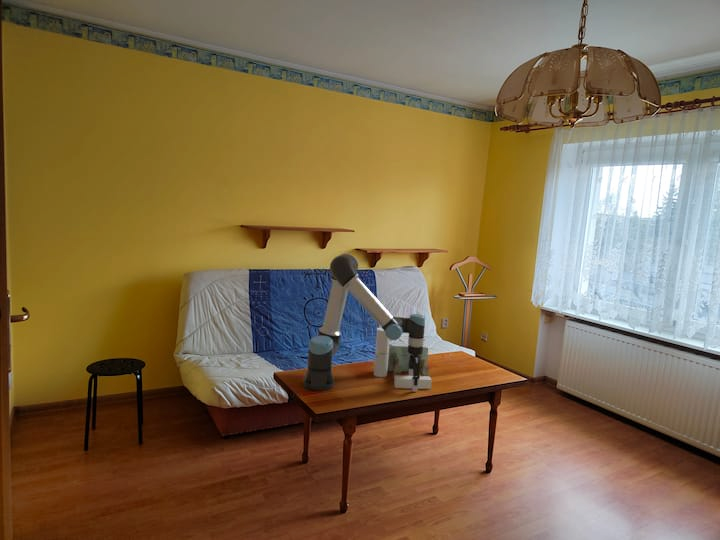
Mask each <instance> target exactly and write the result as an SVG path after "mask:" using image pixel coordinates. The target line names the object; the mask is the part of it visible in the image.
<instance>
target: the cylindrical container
mask: <svg viewBox="0 0 720 540" xmlns="http://www.w3.org/2000/svg"><path fill="white" fill-rule="evenodd" d="M375 336H376V337H375V348H374V349H375V350H374V351H375V352H374V365H373V366H374V367H373V376H374V377H376V378H377V377H378V378H385V377H387V376H388V371H387V369H388V355H389V346H390V339H389V338H388V337H387V336H386V332H385V331H384V330H383V329H382V327H377V328H376V335H375Z"/></svg>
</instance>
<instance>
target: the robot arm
mask: <svg viewBox="0 0 720 540" xmlns="http://www.w3.org/2000/svg"><path fill="white" fill-rule="evenodd" d="M358 269H359V262H358V260H357V258H356V257H355V256H353V255H352V254H349V253H342V254H340V255H338V256H335V257H334V258H333V259H332V260H331V262H330V265H329V271H330V274H331V275H330V279H331V281H332V284H331V289H330V293H329V297H328V302H327V307H326V312H325V315H324V320H323V324H322V326H321V327H319V330H318V333H317V335H316V336H313V337H311V338H310V339H309V342H308V353H307V355H308V356H307V358H308V359H307V369H306V370H307V371H306V373H305V375H304V377H303V381H302V383H303V386H304V388H305V389H308V390H312V391H328V390H331V389H333V388H334V387H335V378H334V375H333V372H332V366H333V365H332V364H333V357H334V355H335V354H336V353H338V351H339V349H340V346H341V336H342V332H341V330H340V328H341V324H342V319H343V314H344V310H345V306H346V302H347V298H348V293H350V294H351V296H352V297H354V298H355V299H356V301H357V302H358V303H359V304H360V305H361V306H362V307H363V308H364V310H366V312H367V313H368V314H369V315H370V316H371V317H372V318H373V319H374V321H375V322H376V323H377V324H378V325H379V326H380V328H382V329H383V330H384V331H385V332H386V336H387V337H388V338H389V339H390V340H391V341H397V340H399V339H401V337H402V335H403V334H408V337H407V339H408V340H407V343H408V345H407V346H408V353H410V359H409V365H408V366H409V372H408V375H407V376H413V377H412V379H413V382H412V388H411V392H415V393H417V392H418V390H419V389H418V379H420V377H419V376H420V373H419V360H420V359H419V357H418V355H420V354H422V353H423V345H424V341H425V340H426V339H425V338H424V337H425V327H426V317H425V316H424V315H423V314H419V313H412V314H410V315H409V317H400V316H393V315H392V314H391V313H390V311H388V310H387V308H386V307H385V305H383V303H382V302H381V301H380V300H379V299H378V298H377V297H376V295H374V294H373V292H372V291H371V290H370V289H369V288H368V287H367V286H366V285H365V283H363V281H362V280H361V278H359V273H358V272H357V271H358ZM415 376H417V377H415Z"/></svg>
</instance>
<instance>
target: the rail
mask: <svg viewBox="0 0 720 540" xmlns="http://www.w3.org/2000/svg"><path fill="white" fill-rule="evenodd" d="M412 377H413V376H408V375H401V376H400V375H395V377H394V376H393V378H394V380H393V385H394V388H395V389H412V382H413V379H412ZM415 377H417V376H415ZM419 377H420V379H418V390H421V389H422V390H424V389H425V390H432V383H433V382H432V381H433V379H432V378H431V377H430V376H429V375H428V376H420V375H419Z"/></svg>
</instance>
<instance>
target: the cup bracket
mask: <svg viewBox="0 0 720 540" xmlns="http://www.w3.org/2000/svg"><path fill="white" fill-rule="evenodd" d="M428 356H429V347H426V346H424V347H423V353H422V354H420V355H418V357H419V359H420V360H419V376H429V369H430V367H429V366H428ZM409 359H410V353H408V345H407V346H405V345H389V355H388V369H387V372H393V375H394V376H393V378H394V377H395V375H400V376H402V372H403V373H405V372H406V373H409V366H408V365H409Z"/></svg>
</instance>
